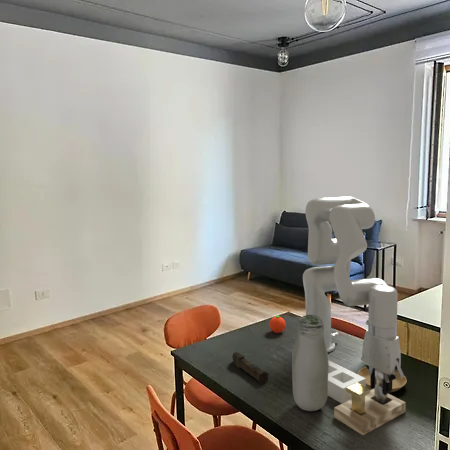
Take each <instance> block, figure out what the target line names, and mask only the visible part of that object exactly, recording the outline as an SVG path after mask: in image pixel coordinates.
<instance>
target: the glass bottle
mask: <svg viewBox="0 0 450 450" xmlns="http://www.w3.org/2000/svg"><path fill="white" fill-rule="evenodd" d="M296 328H297V332H296V335H295V341H294V343H293V344H294V345H293V348H292V353H291V373H292V374H291V378H292V380H291V381H292V395H293V400H294V402H295V404H296V405H297V406H298V407H299V408H300V409H301V410H303V411H305V412H306V411H307V412H316V411H318V410H320V409H322V408H323V407H324V406H325V405H326V402H327V399H328V397H329V396H328V366H329V361H330V360H329V354H328V352H327V350H326V346H325V342H324V336H323V331H324V326H323V322H322V320H321V319H320V318H319V317H318V316H316V315H306V314H305V315H303V316H301V317H300V318H298V321H297V325H296ZM328 360H329V361H328Z"/></svg>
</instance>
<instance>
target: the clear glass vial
mask: <svg viewBox="0 0 450 450" xmlns="http://www.w3.org/2000/svg"><path fill="white" fill-rule="evenodd" d="M383 381H385V377H384V373H383V372H381V371H378V370H376V369H375V390H374V401H376V402H378V403H380V404H382V405H384V404H386V403H387V395H384V394H383Z"/></svg>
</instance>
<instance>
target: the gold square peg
mask: <svg viewBox="0 0 450 450" xmlns="http://www.w3.org/2000/svg"><path fill="white" fill-rule="evenodd" d="M370 390H371V389H370V388H368V387H367V386H366V387H365V386H363V385H361V384H359V383H355V384H353V385H351V386H349V387H347V392H348V393H350V394H352V411H354V412H355V413H357V414H359V415H361V416H362V415H364V414H365V396H366V395H368V394H370Z"/></svg>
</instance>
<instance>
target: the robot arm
mask: <svg viewBox="0 0 450 450" xmlns="http://www.w3.org/2000/svg"><path fill="white" fill-rule="evenodd" d="M305 219H306V222H307V227H308V235H307V236H308V237H307V238H308V240H307V243H308V244H307V258H308V262H310V263H311V264H312V265H315V266H313V267H310V268H307V269H305V270H304V272H303V274H302V282H303V289H304V299H305V315H316V316H318V317H319V318H320V319H321V320H322V322H323V326H324V331H323V336H324V342H325V346H326V350H327V353H331V352H333V351H334V350H335V349H336V343H335V342H334V339H337V338H339V337H340V334H339V332H334V333H332V305H331V300H330V299H329V297H327V295H326V294H325V293H326V292H327V293H328V292H333V291H334V292H335V291H337V292H338V296H339V298H340V300H341V302H343V304H344V305H345V306H349V307H355V306H356V307H357V306H358V307H359V306H366V305H368V319H367V320H366V321H365V325H367V327H368V328H367V330H366V331H365V332H364V337H363V343H362V350H361V351H362V352H361V355H362V356H361V358H360V360H361V361H362V363H363V364H364V365H365V367H367V369H368V370H369V371H368V372H369V374H370V387H371V388H372V389H373V388H375V369H376V370H378V371H381V372H383V373H384V377H385V381H383V394H384V395H387V394H390V393H393V392H392V381H393V380H394V379H398V378H402V377H404V376H405V374H404V372H403V370H402V368H401V365H402V361H401V360H402V359H401V358H402V356H401V355H402V354H401V353H402V352H401V344H400V339H399V336H397V333H398V332H397V330H398V327H397V326H398V304H399V303H398V297H399V295H398V290H397V289H396V288H395V287H394V286H391V285H388V284H387V282H385V280H383V279H381V278H379V277H372V278H358V279H350V278H351V277H350V274H351V265H352V264H351V263H352V260H353V259H355V258H357V257H358V256H361V255H362V254H363V253H365V251H366V250H367V248H368V242H367V240H366V237H365V235H364V232H363V230H368V229H370V228H372V227H374V224H375V221H376V215H375V212H374V209H373V208H372V207H371V206H370V204H368V203H366V202H365V201H363V200H361V199H358V198H356V197H354V196H335V197H331V196H330V197H329V196H327V197H318V198H312V199H311V200H309V201H308V202H307V203H306V206H305ZM333 234H334V236H335V237H334V238H333ZM325 265H326V266H325ZM394 370H395V372H396V373H395V374H394ZM389 374H390V376H389ZM372 389H371V390H372Z"/></svg>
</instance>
